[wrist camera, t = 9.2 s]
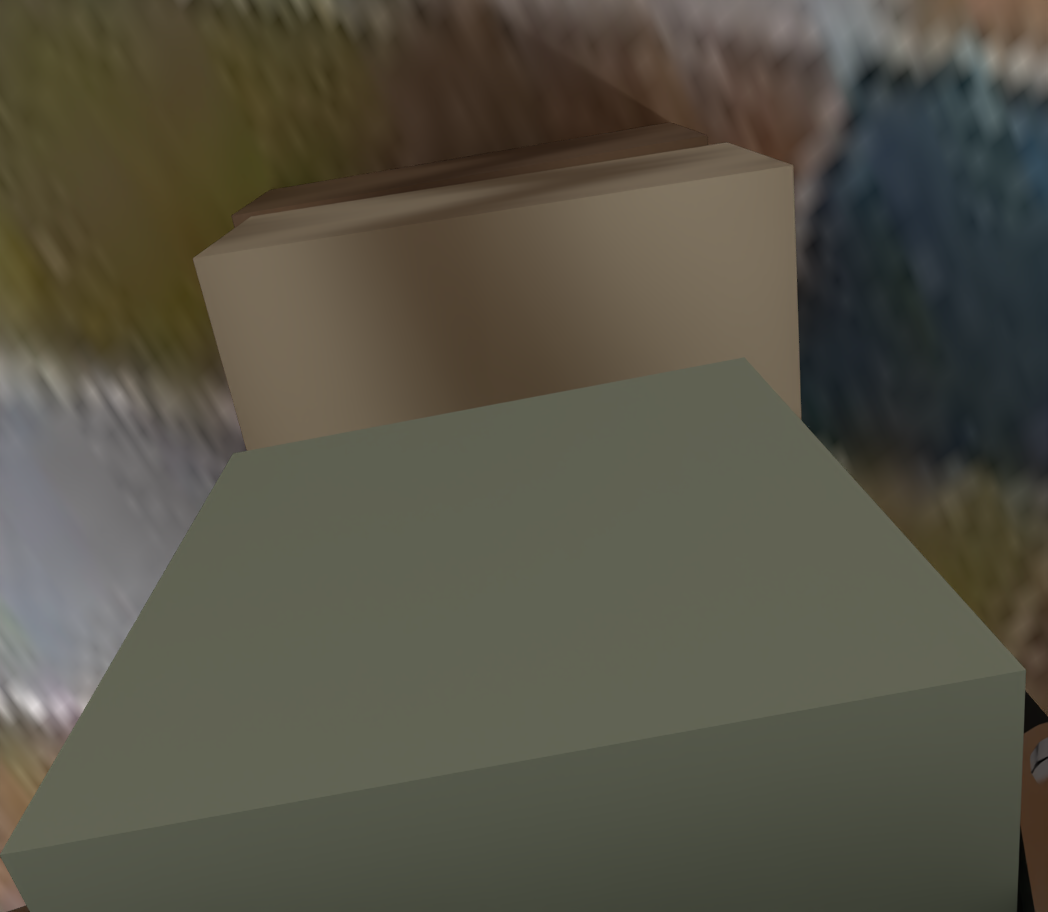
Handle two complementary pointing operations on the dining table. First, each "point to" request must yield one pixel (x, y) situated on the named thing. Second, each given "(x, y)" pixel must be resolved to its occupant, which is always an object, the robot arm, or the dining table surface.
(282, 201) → the tower base
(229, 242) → the tower top
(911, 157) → the dining table surface
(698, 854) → the green cube
